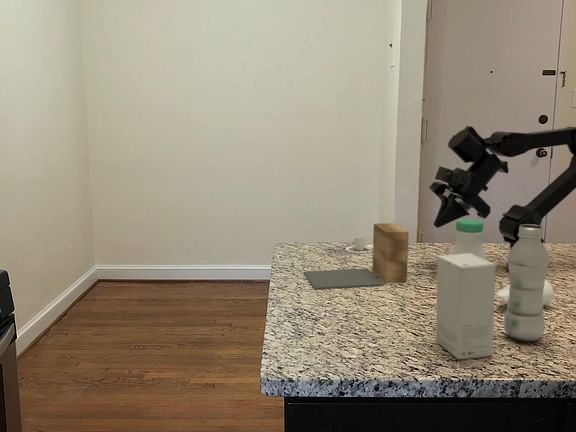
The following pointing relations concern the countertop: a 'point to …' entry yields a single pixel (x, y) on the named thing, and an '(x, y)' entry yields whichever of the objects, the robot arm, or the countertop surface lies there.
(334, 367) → the countertop surface
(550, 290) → the roll
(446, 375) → the countertop surface
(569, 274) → the countertop surface
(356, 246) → the teacup and saucer
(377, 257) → the tan and teal block
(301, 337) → the countertop surface
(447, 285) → the skincare box
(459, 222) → the milk bottle
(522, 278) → the plastic bottle
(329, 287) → the mat
